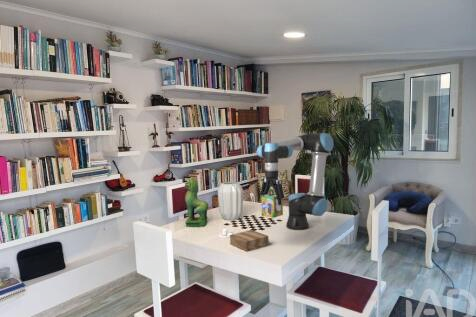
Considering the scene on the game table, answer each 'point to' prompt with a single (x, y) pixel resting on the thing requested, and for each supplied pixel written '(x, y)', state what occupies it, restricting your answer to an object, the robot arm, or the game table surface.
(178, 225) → the game table surface
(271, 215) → the chalk box
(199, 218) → the lion statue
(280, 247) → the game table surface
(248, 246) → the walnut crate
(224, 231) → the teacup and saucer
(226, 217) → the vase
